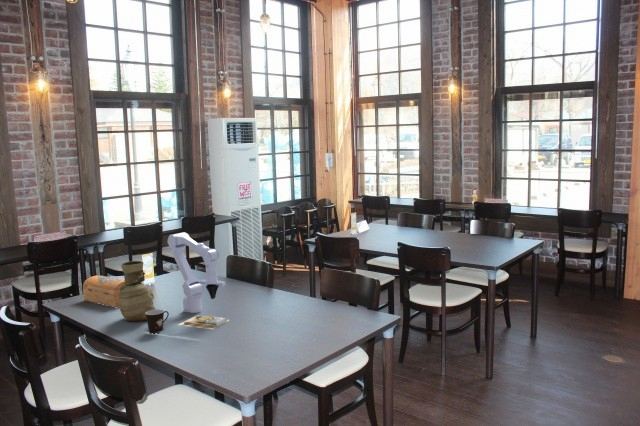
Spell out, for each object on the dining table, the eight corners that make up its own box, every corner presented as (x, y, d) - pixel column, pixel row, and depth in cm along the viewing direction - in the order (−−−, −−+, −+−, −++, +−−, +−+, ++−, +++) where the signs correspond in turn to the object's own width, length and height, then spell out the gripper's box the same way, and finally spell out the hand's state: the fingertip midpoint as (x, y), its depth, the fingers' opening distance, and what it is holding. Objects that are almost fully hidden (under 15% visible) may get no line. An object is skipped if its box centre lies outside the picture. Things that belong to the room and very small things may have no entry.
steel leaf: (203, 325, 286) (203, 320, 285) (213, 320, 293) (212, 315, 293) (216, 327, 283) (216, 322, 282) (225, 322, 290) (225, 317, 290)
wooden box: (139, 301, 336) (137, 278, 334) (114, 308, 323) (112, 284, 321) (108, 294, 353) (106, 272, 351) (83, 301, 340) (81, 278, 338)
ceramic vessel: (162, 311, 315) (158, 257, 311) (152, 323, 294) (148, 266, 290) (127, 312, 315) (123, 258, 311) (115, 325, 294) (110, 267, 290)
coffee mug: (148, 336, 276) (147, 315, 274) (145, 331, 283) (143, 311, 282) (173, 331, 281) (171, 311, 280) (169, 326, 289) (167, 307, 287)
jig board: (177, 326, 288) (177, 322, 288) (195, 317, 302) (195, 313, 301) (213, 331, 280) (212, 327, 279) (229, 321, 293) (229, 317, 293)
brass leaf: (195, 324, 288) (195, 319, 288) (204, 319, 295) (204, 314, 295) (207, 325, 285) (207, 321, 285) (216, 320, 292) (216, 316, 292)
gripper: (195, 273, 298) (197, 299, 300) (219, 275, 293) (220, 301, 294) (203, 270, 305) (204, 295, 307) (226, 272, 299) (228, 297, 301)
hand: (213, 298), depth 301 cm, fingers closed
